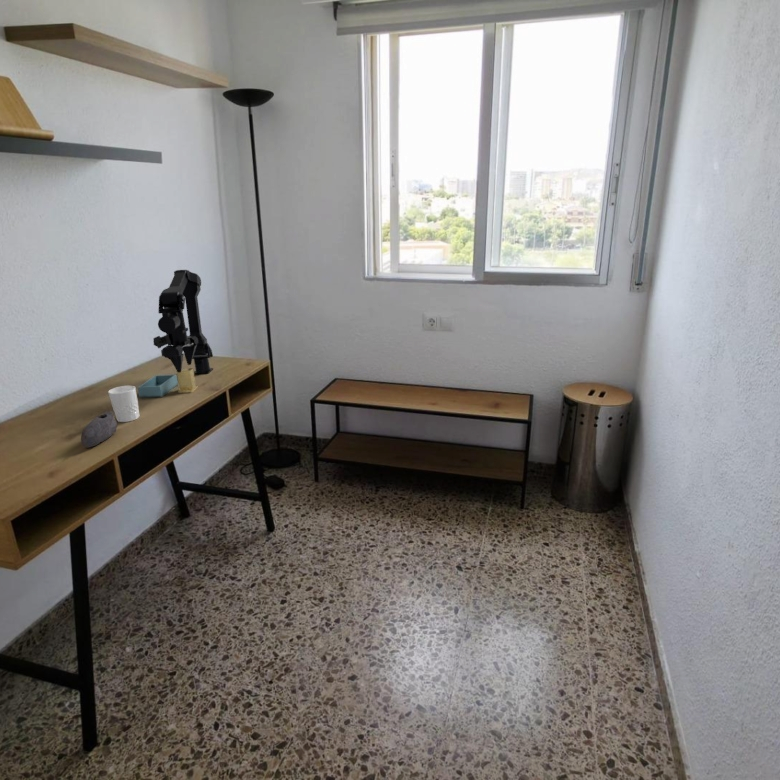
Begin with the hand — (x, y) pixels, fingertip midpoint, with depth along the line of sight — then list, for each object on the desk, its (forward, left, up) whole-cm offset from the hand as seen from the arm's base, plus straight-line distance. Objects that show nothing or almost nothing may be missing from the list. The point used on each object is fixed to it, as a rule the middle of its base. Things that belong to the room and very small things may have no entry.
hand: (184, 368), depth 193 cm
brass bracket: (0, 0, -9) cm, 9 cm away
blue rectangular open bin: (0, -11, -8) cm, 14 cm away
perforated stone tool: (+44, -8, -9) cm, 46 cm away
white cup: (+27, -9, -9) cm, 30 cm away
